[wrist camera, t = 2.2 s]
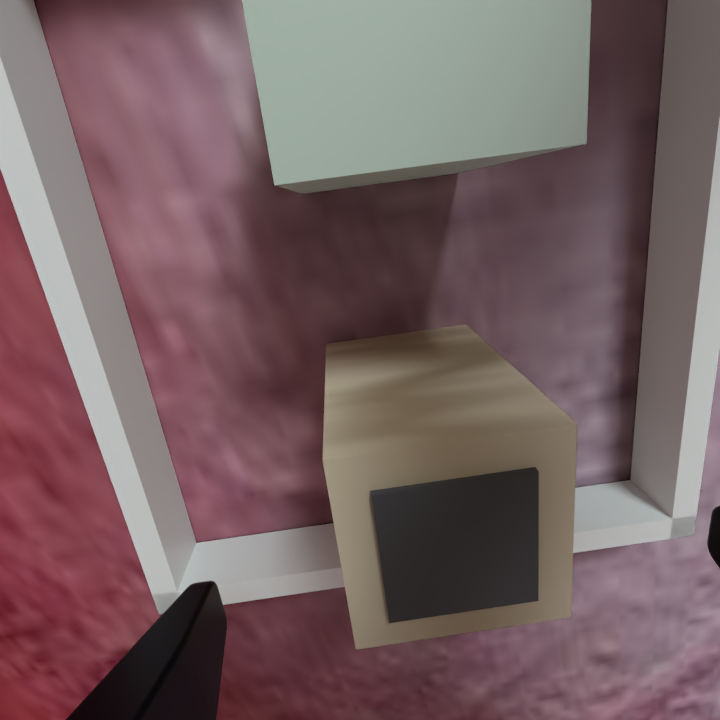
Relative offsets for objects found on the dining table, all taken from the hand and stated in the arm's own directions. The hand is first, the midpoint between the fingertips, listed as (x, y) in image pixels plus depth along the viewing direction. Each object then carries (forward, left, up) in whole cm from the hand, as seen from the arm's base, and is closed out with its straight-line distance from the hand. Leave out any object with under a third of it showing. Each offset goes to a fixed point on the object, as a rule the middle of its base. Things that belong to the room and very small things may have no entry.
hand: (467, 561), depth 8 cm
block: (0, -9, -8) cm, 12 cm away
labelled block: (0, 0, -8) cm, 8 cm away
